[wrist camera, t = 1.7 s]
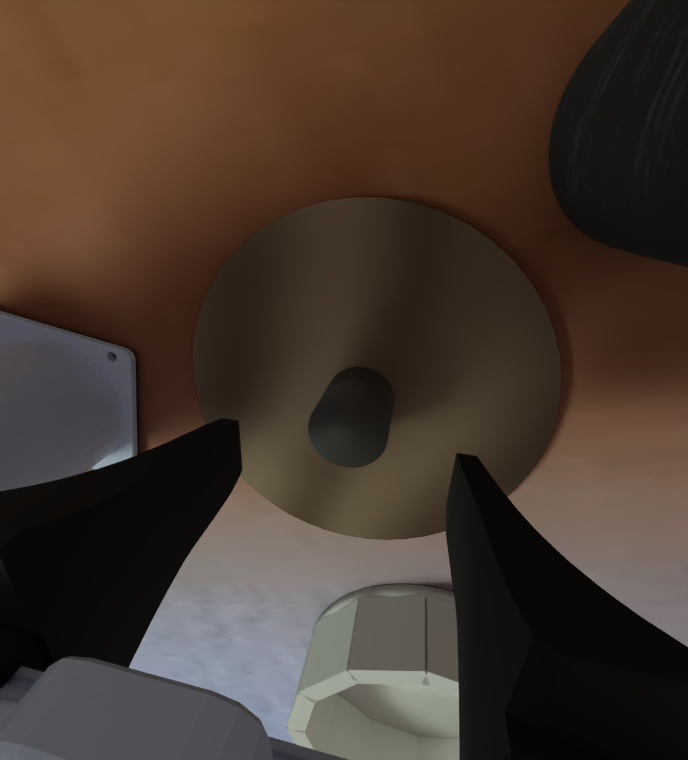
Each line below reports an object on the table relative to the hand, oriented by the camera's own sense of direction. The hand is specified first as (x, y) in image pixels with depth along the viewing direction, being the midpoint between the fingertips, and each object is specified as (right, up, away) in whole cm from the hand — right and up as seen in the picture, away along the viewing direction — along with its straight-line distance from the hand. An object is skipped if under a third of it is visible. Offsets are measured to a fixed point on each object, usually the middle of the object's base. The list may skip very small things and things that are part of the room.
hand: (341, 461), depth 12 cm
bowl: (+5, -15, +11) cm, 19 cm away
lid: (+1, +2, +5) cm, 6 cm away
